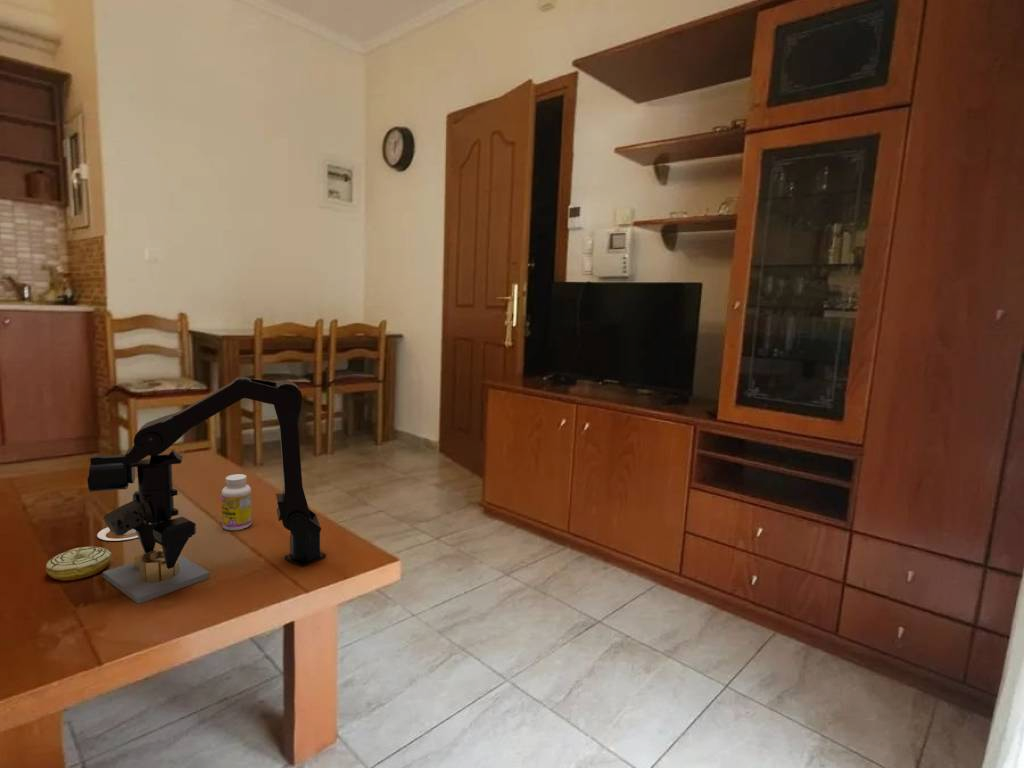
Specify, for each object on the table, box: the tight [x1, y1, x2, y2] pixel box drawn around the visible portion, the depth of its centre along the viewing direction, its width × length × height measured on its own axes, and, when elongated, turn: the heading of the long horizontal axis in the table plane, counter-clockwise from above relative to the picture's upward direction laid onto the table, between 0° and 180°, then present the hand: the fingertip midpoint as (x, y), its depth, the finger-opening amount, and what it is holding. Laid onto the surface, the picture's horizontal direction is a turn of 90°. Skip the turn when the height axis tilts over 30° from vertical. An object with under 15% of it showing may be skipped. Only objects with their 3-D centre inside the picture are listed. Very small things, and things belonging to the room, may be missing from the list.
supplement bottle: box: [221, 473, 253, 531], centre depth 138 cm, size 7×7×13 cm
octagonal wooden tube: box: [139, 548, 180, 582], centre depth 111 cm, size 6×6×4 cm
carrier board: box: [102, 551, 211, 605], centre depth 112 cm, size 16×13×4 cm
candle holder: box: [96, 526, 139, 542], centre depth 133 cm, size 12×12×4 cm
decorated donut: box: [45, 546, 112, 582], centre depth 114 cm, size 10×11×4 cm
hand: (159, 561), depth 111 cm, fingers open, 9 cm apart
